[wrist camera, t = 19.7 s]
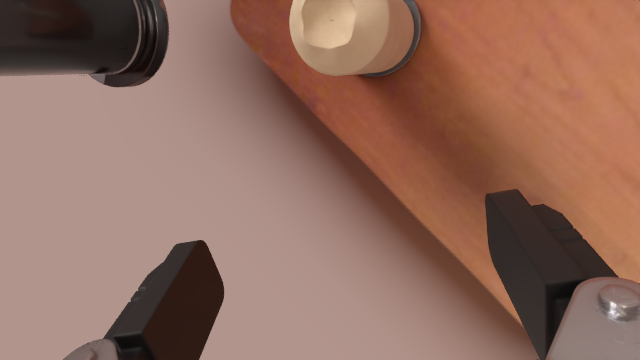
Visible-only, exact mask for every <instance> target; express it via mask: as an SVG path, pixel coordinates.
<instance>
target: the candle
mask: <svg viewBox="0 0 640 360" xmlns="http://www.w3.org/2000/svg"><path fill="white" fill-rule="evenodd" d="M290 32H291V37H292V41H293V44H294V46H295V48H296V50H297V52H298V54H299V55H300V57H301V58H302V59H303V60H304V61H305V62H306V63H307V64H308V65H309V66H310V67H312V68H313V69H315V70H316V71H318V72H321V73H323V74H327V75H332V76H342V75H355V74H367V73H377V72H382V71H385V70H388V69H390V68H392V67H394V66H395V65H397V64H398V63H399V62H400V61H401V60H402V59H403V58H404V57H405V55H406V54H407V52H408V50H409V48H410V46H411V44H412V40H413V36H414V22H413V17H412V14H411V12H410V9H409V8H408V6H407V4H406V3H405V2H404V1H403V0H294V1H293V3H292V7H291V12H290Z"/></svg>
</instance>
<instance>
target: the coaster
mask: <svg viewBox="0 0 640 360" xmlns="http://www.w3.org/2000/svg"><path fill="white" fill-rule="evenodd" d="M403 1H404V2H405V3H406V4H407V6H408V8H409V9H410V12H411V14H412V17H413V22H414V36H413V40H412V44H411V46H410V48H409V50H408V52H407V54H406V55H405V57H404V58H403V59H402V60H401V61H400V62H399V63H398V64H397V65H395V66H394V67H392V68H390V69H388V70H385V71H382V72H377V73H367V74H361V75H365V76H371V77H378V76H384V75H388V74H391V73H393V72H395V71H397V70H399V69H400V68H402V67H403V66H404V65H405V64H406V63H407V62H408V61H409V60H410V59H411V58H412V56H413V55H414V53H415V51H416V49H417V47H418V45H419V42H420V38H421V33H422V20H421V15H420V11H419V8H418V6H417V4H416V2H415V1H414V0H403Z"/></svg>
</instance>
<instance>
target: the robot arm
mask: <svg viewBox="0 0 640 360" xmlns="http://www.w3.org/2000/svg"><path fill="white" fill-rule="evenodd" d="M145 40H146V21H145V15H144V11H143V7H142V4H141V2H140V0H0V76H20V75H21V76H23V75H24V76H25V75H64V74H96V75H103V74H121V73H124V72H126V71H128V70H130V69H131V68H132V67H133V66H134V65H135V64H136V63H137V61H138V60H139V58H140V56H141V54H142V52H143V49H144V45H145ZM485 205H486V219H487V233H488V245H489V251H490V255H491V258H492V262H493V264H494V267H495V269H496V271H497V273H498V275H499V277H500V279H501V281H502V283H503V285H504V287H505V289H506V291H507V293H508V295H509V297H510V299H511V301H512V303H513V305H514V307H515V309H516V311H517V313H518V315H519V317H520V319H521V322H522V324H523V326H524V328H525V330H526V331H527V334H528V336H529V338H530V340H531V341H532V344H533V346H534V348H535V350H536V352H537V354H538V356H539V358H540V360H640V283H637V282H635V281H631V280H628V279H623V278H619V277H618V276H617V275H616V274H615V273H614V272H613V270H612V269H611V268H610V267H609V266H608V265H607V264H606V263H605V261H604V260H603V259H602V258H601V257H600V256H599V255H598V254H597V253H596V251H595V250H594V249H593V248H592V247H591V246H590V245H589V244H588V242H587V241H586V240H585V239H584V240H583V238H582V236H581V235H580V233H579V232H578V231H577V230H576V229H573V226H572V225H571V223H570V222H569V221H568V220H567V219H566V218H565V217H564V216H563V214H562V213H560V212H558V211H556V210H554V209H552V208H550V207H548V206H546V205H544V204H541V205H534V206H531V205H530V204H529V203H528V202H527V200H526V199H525V198H524V197H523V195H522V194H521V193H520V192H519V190H517V189H513V190H507V191H501V192H495V193H488V194H486V197H485ZM223 298H224V286H223V282H222V279H221V276H220V274H219V272H218V269H217V267H216V265H215V262H214V260H213V258H212V255H211V253H210V251H209V248H208V246H207V244H206V243H205V242H204V241H202V240H198V241H192V242H185V243H179V244H176V245H175V246H174V247H173V249H172V250H171V252H170V253H169V255H168V256H167V258H166V259H165V261H164V262H163V263H161V264H160V265H159V266H158V267H157V268H155V269H154V270H153V271H152V272H151V273H150V274H149V275H147V277H146V278H145V280H144V281H143V283H142V284H141V285H140V287H139V288H138V291H136V292H135V294H134V295H133V297H132V298H131V302H128V304H127V305H126V307H125V308H124V310H123V311H122V312H121V314H120V315H119V317H118V318H117V319H116V321H115V322H114V324H113V325H112V327H111V328H110V329H109V331H108V332H107V334H106V335H105V337H104V338H103V339H99V340H96V341H92V342H89V343H87V344H85V345H83V346H81V347H79V348H77V349H76V350H74V351H73V352H72V353H70V354H69V355H68V356H67V357H66V358H64V359H63V360H199V358H200V356H201V354H202V351H203V348H204V346H205V344H206V341H207V339H208V336H209V334H210V331H211V329H212V327H213V324H214V322H215V319H216V317H217V314H218V312H219V310H220V307H221V305H222V302H223Z"/></svg>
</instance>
